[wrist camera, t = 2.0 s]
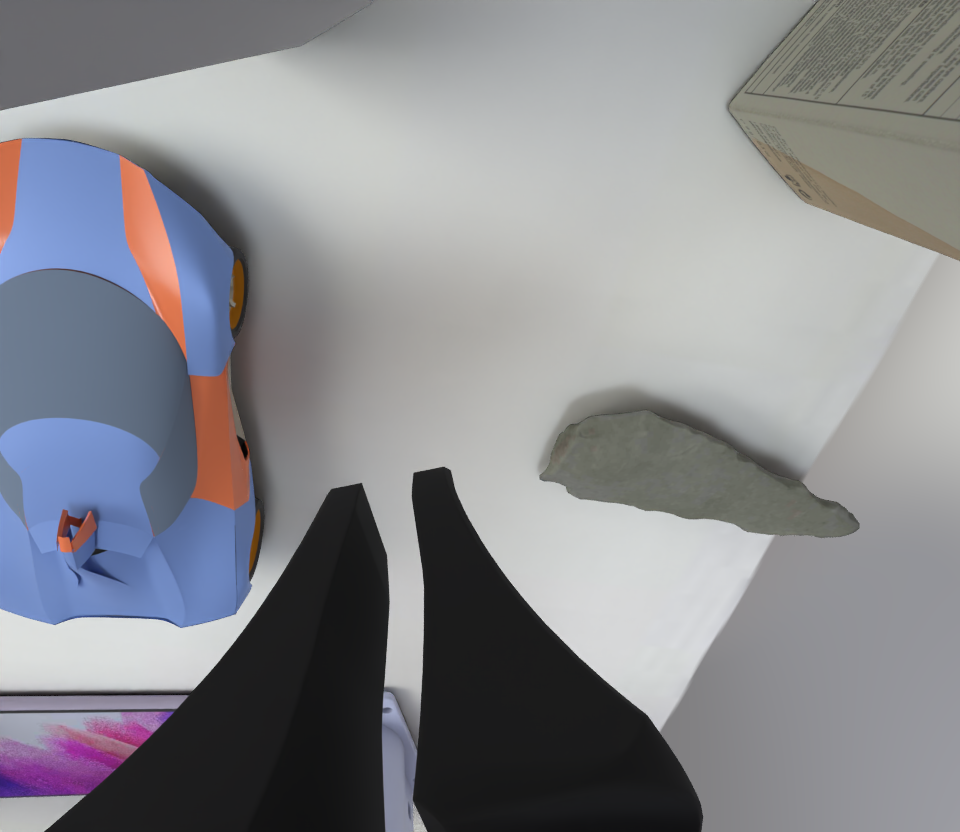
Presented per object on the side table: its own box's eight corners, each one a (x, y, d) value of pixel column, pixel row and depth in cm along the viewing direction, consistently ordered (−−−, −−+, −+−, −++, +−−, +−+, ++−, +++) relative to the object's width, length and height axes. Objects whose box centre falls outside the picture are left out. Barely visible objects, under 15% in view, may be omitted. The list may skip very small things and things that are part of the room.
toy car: (268, 159, 16) (219, 211, 11) (266, 561, 24) (236, 685, 19) (-88, 97, 14) (-308, 129, 10) (36, 550, 22) (-55, 684, 18)
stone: (601, 362, 20) (526, 451, 23) (608, 402, 19) (527, 491, 22) (864, 487, 24) (769, 550, 27) (887, 528, 22) (783, 590, 25)
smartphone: (-159, 710, 24) (234, 706, 27) (-143, 691, 25) (238, 689, 28) (-102, 804, 28) (239, 792, 31) (-90, 785, 29) (242, 774, 31)
